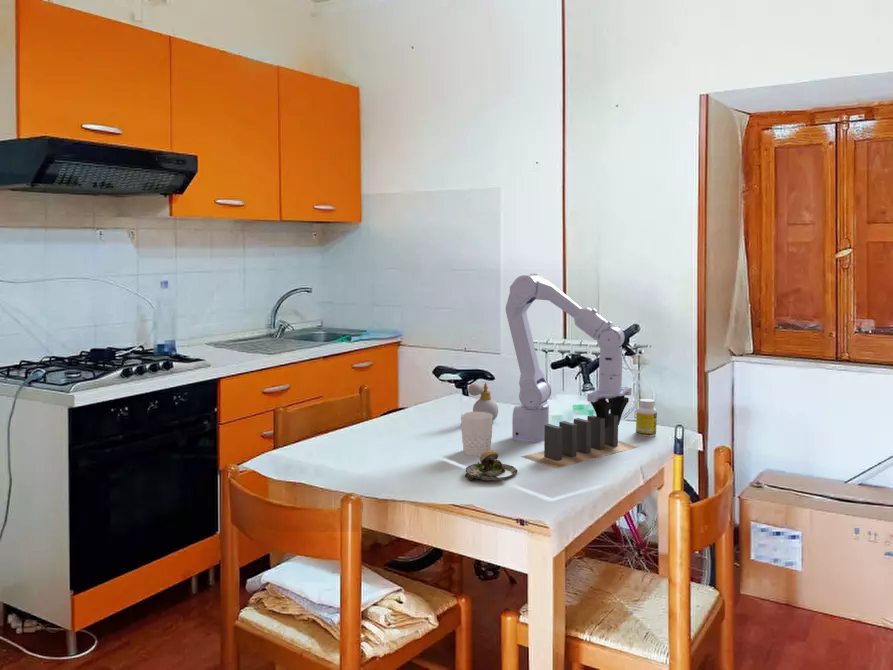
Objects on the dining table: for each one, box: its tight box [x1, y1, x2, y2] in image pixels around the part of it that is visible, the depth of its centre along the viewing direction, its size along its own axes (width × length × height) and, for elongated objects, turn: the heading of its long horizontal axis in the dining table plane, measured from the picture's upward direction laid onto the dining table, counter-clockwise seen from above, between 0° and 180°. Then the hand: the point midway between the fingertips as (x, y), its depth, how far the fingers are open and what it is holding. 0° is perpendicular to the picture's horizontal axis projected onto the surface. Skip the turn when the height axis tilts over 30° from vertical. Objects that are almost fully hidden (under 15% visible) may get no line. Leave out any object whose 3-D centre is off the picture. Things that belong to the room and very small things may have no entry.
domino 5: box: [604, 412, 619, 447], centre depth 199 cm, size 2×4×8 cm, turn 37°
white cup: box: [460, 411, 493, 457], centre depth 194 cm, size 8×8×10 cm
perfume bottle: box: [467, 382, 499, 422], centre depth 226 cm, size 8×10×12 cm
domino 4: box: [586, 414, 605, 450], centre depth 196 cm, size 2×4×8 cm, turn 37°
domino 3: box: [573, 417, 591, 454], centre depth 194 cm, size 2×4×8 cm, turn 37°
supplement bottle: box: [635, 398, 658, 438], centre depth 211 cm, size 5×5×10 cm
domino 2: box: [558, 420, 577, 457], centre depth 191 cm, size 2×4×8 cm, turn 36°
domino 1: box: [543, 423, 562, 461], centre depth 188 cm, size 2×4×8 cm, turn 37°
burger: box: [464, 443, 518, 482], centre depth 176 cm, size 12×12×8 cm
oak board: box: [520, 440, 641, 469], centre depth 194 cm, size 30×12×1 cm, turn 127°
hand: (608, 425), depth 199 cm, fingers open, 4 cm apart
